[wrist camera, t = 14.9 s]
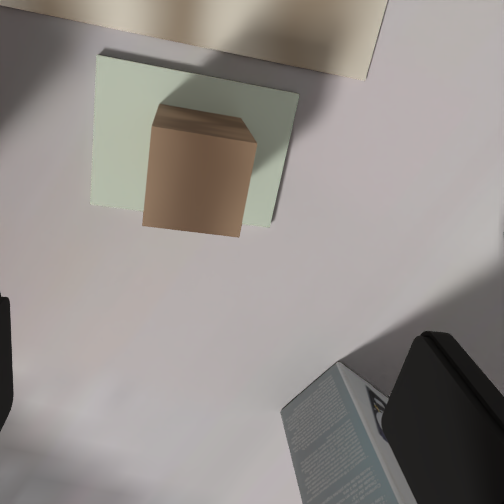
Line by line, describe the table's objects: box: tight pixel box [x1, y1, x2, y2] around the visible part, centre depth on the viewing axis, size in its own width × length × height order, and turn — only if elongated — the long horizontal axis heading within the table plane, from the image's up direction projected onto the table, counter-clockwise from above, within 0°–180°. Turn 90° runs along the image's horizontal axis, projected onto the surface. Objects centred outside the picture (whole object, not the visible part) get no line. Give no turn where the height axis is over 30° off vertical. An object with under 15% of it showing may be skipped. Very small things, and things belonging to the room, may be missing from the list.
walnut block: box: [142, 104, 257, 237], centre depth 25 cm, size 5×5×7 cm
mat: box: [90, 55, 300, 228], centre depth 28 cm, size 12×9×1 cm
